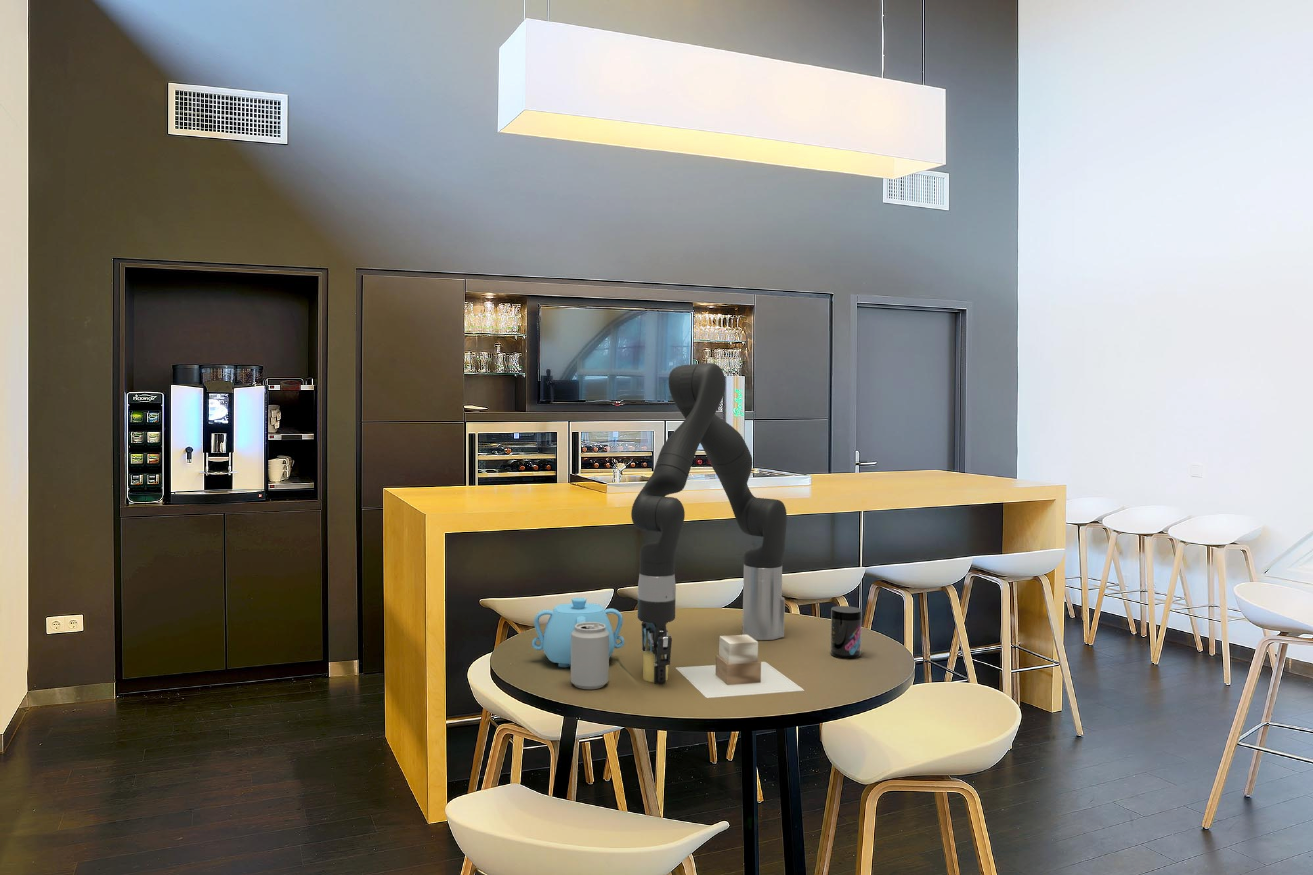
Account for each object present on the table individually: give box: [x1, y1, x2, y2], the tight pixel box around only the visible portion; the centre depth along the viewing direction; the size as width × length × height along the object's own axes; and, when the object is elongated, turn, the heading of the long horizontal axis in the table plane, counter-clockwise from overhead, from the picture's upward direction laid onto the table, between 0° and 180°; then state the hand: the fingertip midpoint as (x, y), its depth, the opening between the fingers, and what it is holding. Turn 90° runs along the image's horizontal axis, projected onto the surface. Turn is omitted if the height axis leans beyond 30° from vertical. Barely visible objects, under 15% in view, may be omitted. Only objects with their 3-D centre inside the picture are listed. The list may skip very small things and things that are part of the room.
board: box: [675, 661, 806, 699], centre depth 186 cm, size 20×20×1 cm
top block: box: [718, 634, 759, 664], centre depth 186 cm, size 6×6×4 cm
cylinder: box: [642, 651, 669, 683], centre depth 185 cm, size 5×5×6 cm
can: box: [570, 622, 610, 690], centre depth 184 cm, size 8×8×12 cm
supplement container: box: [829, 605, 863, 660], centre depth 208 cm, size 7×7×10 cm
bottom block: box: [715, 654, 762, 685], centre depth 186 cm, size 7×7×4 cm
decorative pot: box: [531, 597, 626, 668], centre depth 200 cm, size 16×16×14 cm
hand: (655, 679), depth 186 cm, fingers open, 5 cm apart
